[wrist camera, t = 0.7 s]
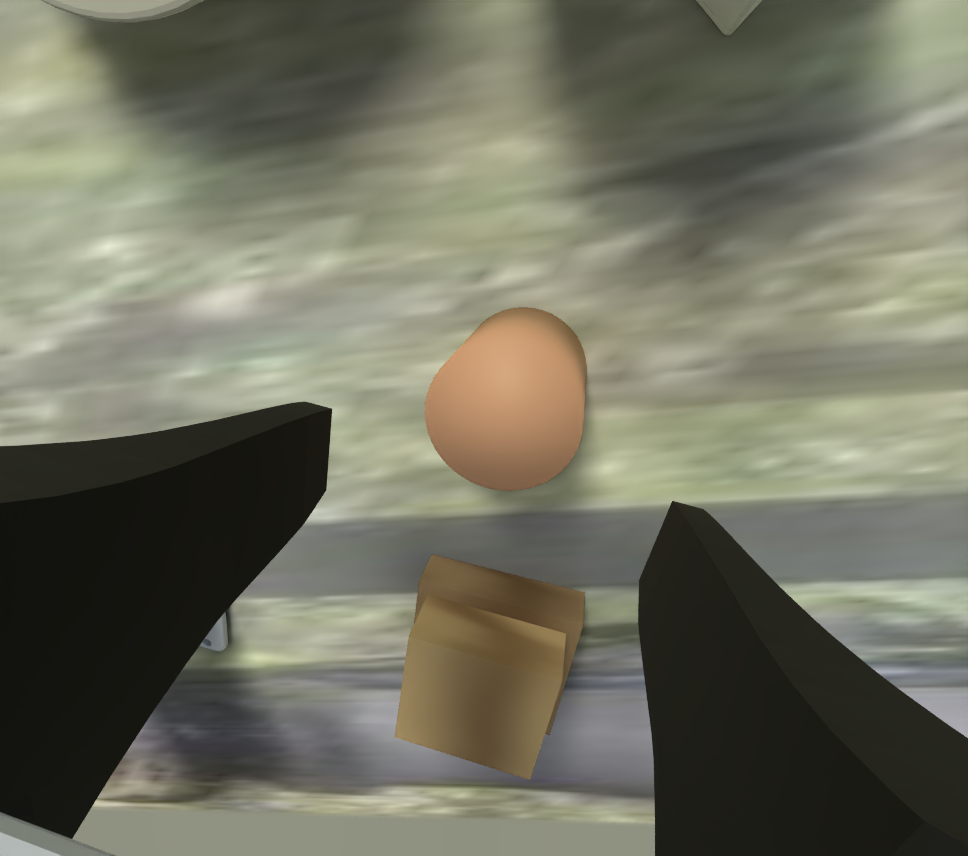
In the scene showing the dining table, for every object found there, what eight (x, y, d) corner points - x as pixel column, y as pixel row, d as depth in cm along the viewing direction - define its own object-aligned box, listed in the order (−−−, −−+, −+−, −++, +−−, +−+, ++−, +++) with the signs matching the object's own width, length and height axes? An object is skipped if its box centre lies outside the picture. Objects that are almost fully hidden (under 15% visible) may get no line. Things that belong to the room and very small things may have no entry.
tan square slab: (420, 654, 27) (405, 694, 25) (434, 547, 24) (419, 581, 22) (553, 691, 26) (549, 735, 24) (584, 584, 23) (583, 624, 21)
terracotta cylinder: (456, 412, 21) (417, 471, 16) (472, 296, 19) (433, 327, 14) (571, 437, 20) (564, 505, 16) (599, 320, 18) (601, 360, 14)
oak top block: (412, 690, 25) (394, 737, 23) (427, 594, 22) (408, 636, 20) (536, 728, 24) (530, 779, 22) (566, 633, 22) (562, 681, 19)
